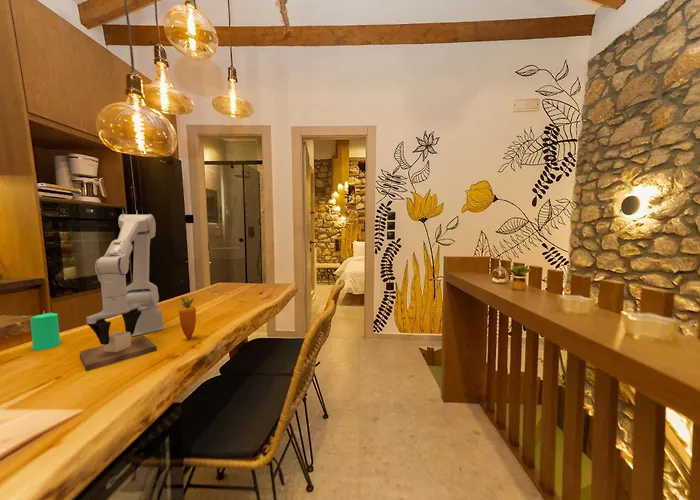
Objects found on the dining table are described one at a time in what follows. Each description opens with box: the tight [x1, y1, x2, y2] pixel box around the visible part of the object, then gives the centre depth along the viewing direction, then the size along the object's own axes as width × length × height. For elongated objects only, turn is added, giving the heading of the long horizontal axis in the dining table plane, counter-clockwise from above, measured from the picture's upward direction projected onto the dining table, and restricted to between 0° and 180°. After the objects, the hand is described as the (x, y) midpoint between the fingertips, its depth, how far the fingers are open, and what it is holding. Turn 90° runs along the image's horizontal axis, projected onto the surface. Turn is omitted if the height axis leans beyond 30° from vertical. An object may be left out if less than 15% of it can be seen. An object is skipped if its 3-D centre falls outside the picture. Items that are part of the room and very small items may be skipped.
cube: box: [104, 330, 132, 352], centre depth 83 cm, size 4×4×4 cm
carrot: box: [178, 296, 197, 340], centre depth 93 cm, size 5×5×15 cm
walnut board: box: [78, 334, 158, 372], centre depth 83 cm, size 16×14×2 cm
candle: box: [29, 310, 61, 351], centre depth 89 cm, size 6×6×12 cm
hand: (118, 338), depth 83 cm, fingers open, 7 cm apart
